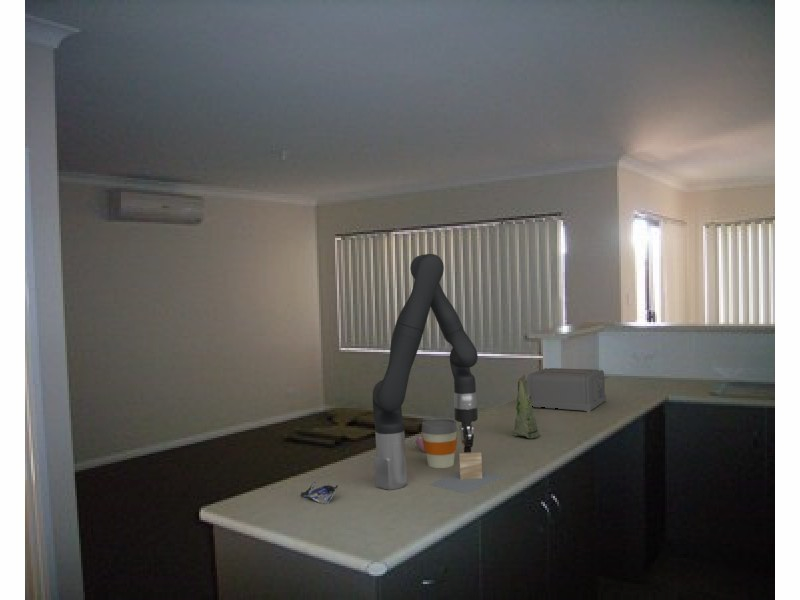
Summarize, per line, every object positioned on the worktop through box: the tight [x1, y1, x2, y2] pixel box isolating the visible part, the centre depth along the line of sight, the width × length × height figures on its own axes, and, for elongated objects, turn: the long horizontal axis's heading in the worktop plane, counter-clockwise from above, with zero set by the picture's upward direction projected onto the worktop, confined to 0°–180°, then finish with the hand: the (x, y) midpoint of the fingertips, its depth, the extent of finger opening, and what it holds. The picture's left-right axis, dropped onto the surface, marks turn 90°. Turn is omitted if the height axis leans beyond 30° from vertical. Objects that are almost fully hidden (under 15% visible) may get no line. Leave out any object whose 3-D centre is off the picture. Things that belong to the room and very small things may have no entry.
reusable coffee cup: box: [421, 418, 458, 469], centre depth 211 cm, size 13×13×15 cm
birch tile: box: [458, 451, 483, 479], centre depth 194 cm, size 2×7×8 cm, turn 93°
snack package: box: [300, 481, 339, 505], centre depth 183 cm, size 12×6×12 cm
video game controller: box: [414, 434, 425, 453], centre depth 234 cm, size 10×5×7 cm, turn 142°
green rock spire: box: [513, 374, 540, 439], centre depth 248 cm, size 11×12×25 cm
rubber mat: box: [428, 471, 504, 495], centre depth 192 cm, size 20×15×1 cm
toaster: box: [526, 367, 609, 412], centre depth 310 cm, size 31×36×17 cm
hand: (467, 458), depth 199 cm, fingers closed
